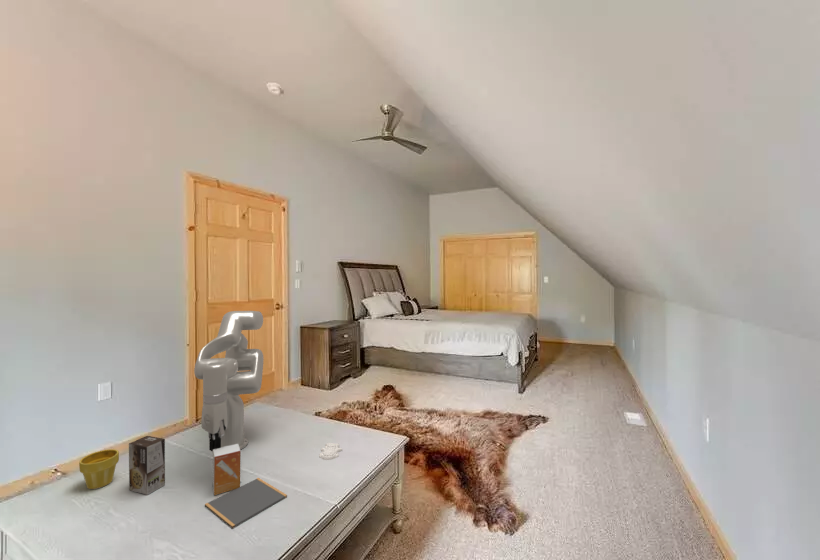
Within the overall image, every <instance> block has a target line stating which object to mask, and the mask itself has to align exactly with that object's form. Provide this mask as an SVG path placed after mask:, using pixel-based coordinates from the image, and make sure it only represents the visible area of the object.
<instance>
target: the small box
mask: <svg viewBox="0 0 820 560" xmlns="http://www.w3.org/2000/svg"><path fill="white" fill-rule="evenodd" d="M241 457H242V456H241V449H240V447H239V444H234V445H230V446H225V447H221V448H217V449H213V451H212V490H213V496H216V495H219V494H224V493H228V492H231V491H233V490H235V489H237V488H239V487H241Z"/></svg>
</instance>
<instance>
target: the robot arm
mask: <svg viewBox="0 0 820 560" xmlns="http://www.w3.org/2000/svg"><path fill="white" fill-rule="evenodd" d="M263 323H264V316H263V313H262V312H261V311H256V310H233V311H232V310H231V311H228V312H226V313H225V314H223V316H222V319H221V322H220V326H219V329H218V332H217V336H216V337H215V338H213V339H212V340H210V341H209V342H208V343H206V344H205V345H204V346H203V347H202V348H201V350H200V351H199V353H198V356H197V358H196V361H195V364H194V370H193V371H194V376H195V378H196V379H198V380H202V407H201V408H202V410H201V422H200V423H201V425H200V426H201V429H203V430H204V431H206V432H207V433H208V438H209V441H208V442H209V443H208V444H209V451H210V452H213V449H217V448H221V447H225V446H230V445H234V444H239V447H240V450H242V449H244V448H245V447H247V445H248V443H249V440H248V438H246V437H245V420H244V419H245V406H244V405H245V403H244V401H243V399H242V398H241V396H240V395H250V394H256V393H259V391H260V390H261V388H262V385H263V384H262V382H263V372H264V371H263V369H264V361H265V359H264V353H263V351H262V350H261V349H259V348H248V345H249V340H248V338H247V337H246V336H245V334H243V333H242V331H257V330H260V329H261V328H262V327H263ZM223 352H225V355H224V357H217V358H215V356H216V355H218V354H220V353H223ZM213 357H214V358H213Z"/></svg>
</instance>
